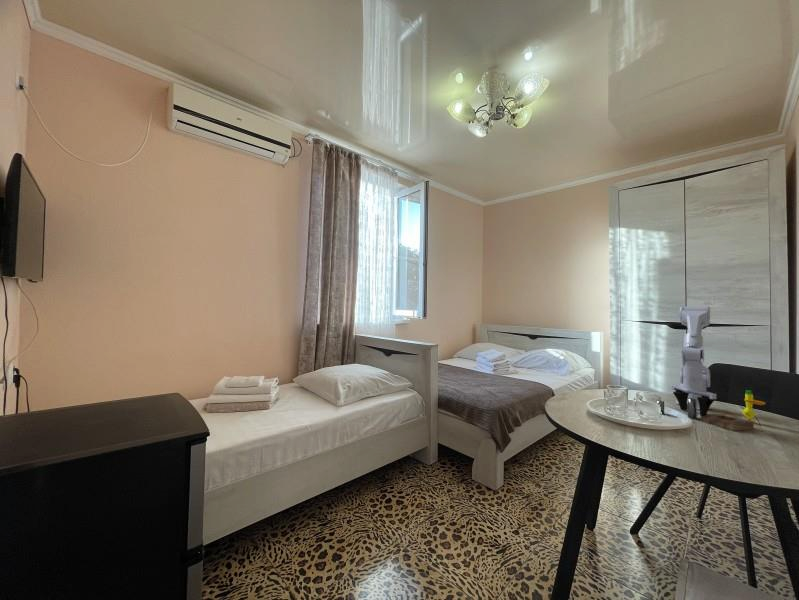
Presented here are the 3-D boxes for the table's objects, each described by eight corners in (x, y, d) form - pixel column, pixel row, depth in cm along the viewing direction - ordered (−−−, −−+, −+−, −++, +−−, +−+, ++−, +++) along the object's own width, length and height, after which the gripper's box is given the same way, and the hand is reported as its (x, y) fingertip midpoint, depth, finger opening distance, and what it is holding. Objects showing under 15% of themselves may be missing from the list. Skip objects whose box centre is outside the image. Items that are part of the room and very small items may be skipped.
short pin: (681, 410, 137) (681, 403, 137) (686, 410, 137) (686, 403, 137) (687, 412, 134) (687, 405, 134) (692, 412, 135) (692, 404, 135)
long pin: (686, 417, 128) (686, 398, 128) (691, 416, 129) (691, 397, 129) (693, 419, 126) (693, 400, 126) (698, 419, 126) (698, 399, 126)
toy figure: (766, 425, 121) (766, 392, 121) (763, 426, 119) (763, 393, 119) (741, 419, 127) (741, 388, 127) (737, 420, 125) (737, 389, 125)
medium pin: (654, 412, 134) (654, 400, 134) (659, 412, 134) (659, 400, 134) (660, 414, 131) (660, 402, 131) (666, 414, 132) (666, 401, 132)
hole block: (700, 420, 124) (700, 414, 124) (720, 419, 127) (720, 412, 127) (732, 430, 115) (732, 423, 115) (753, 428, 117) (753, 421, 117)
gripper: (665, 374, 134) (666, 407, 133) (706, 382, 119) (706, 419, 119) (679, 374, 135) (679, 406, 135) (720, 381, 121) (720, 418, 121)
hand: (693, 412), depth 127 cm, fingers open, 6 cm apart
